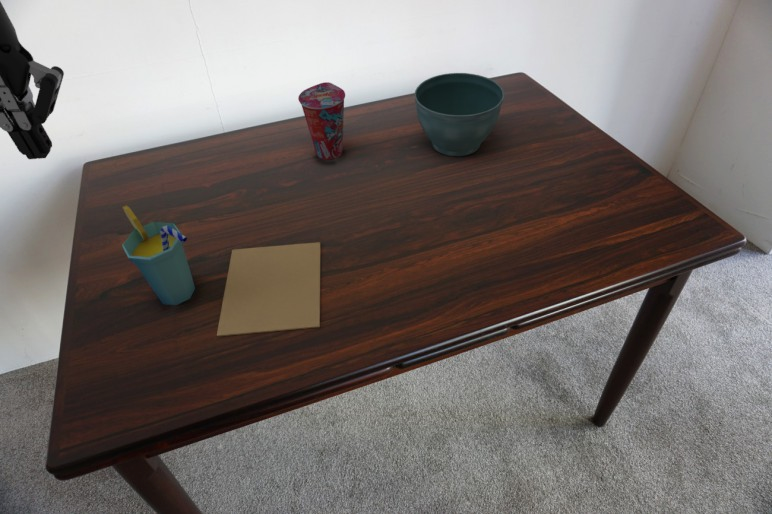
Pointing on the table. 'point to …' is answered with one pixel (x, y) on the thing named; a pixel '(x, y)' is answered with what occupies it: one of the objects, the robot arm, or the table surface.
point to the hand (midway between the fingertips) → (40, 154)
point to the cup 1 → (160, 258)
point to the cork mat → (272, 290)
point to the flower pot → (458, 111)
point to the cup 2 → (324, 118)
